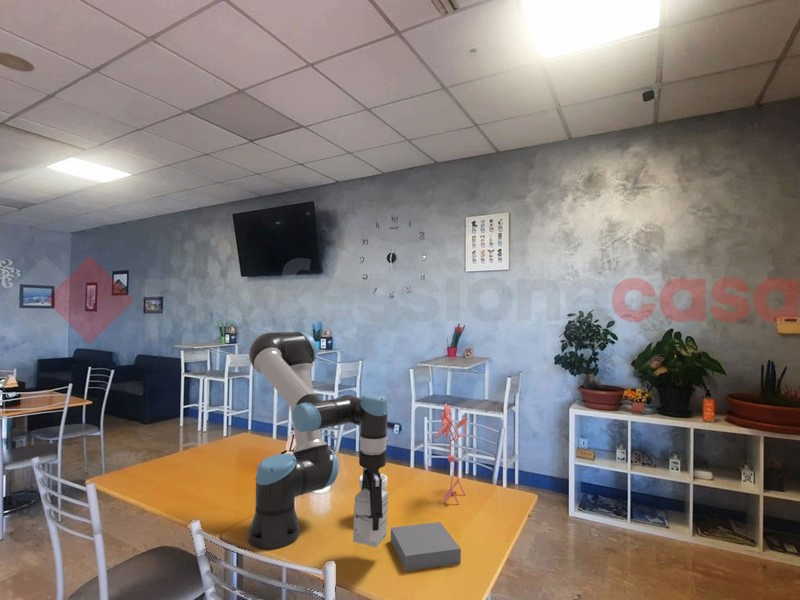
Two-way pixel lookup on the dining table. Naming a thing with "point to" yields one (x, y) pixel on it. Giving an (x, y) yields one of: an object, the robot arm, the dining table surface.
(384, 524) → the supplement box
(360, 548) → the dining table surface
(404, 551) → the block
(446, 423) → the pink stick sculpture
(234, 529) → the dining table surface
